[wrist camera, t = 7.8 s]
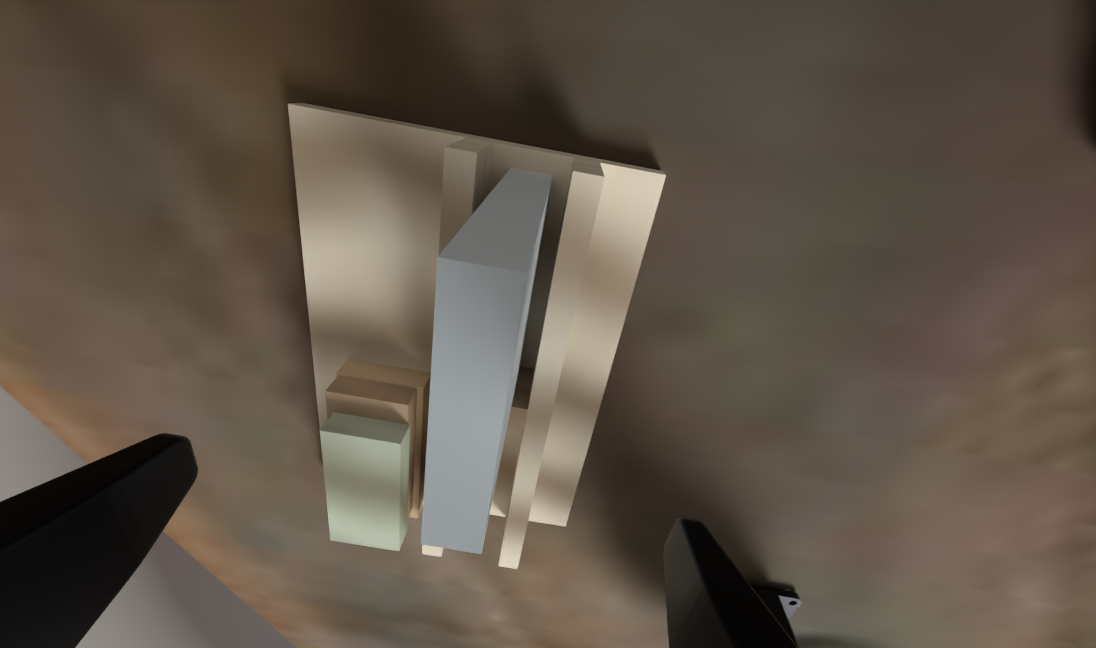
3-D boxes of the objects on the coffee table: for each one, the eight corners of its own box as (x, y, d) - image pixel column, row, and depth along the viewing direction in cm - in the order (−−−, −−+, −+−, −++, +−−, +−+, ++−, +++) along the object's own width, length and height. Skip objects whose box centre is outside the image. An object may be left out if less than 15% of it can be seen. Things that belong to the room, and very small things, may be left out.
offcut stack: (424, 500, 25) (402, 559, 22) (354, 489, 25) (323, 546, 22) (431, 373, 21) (405, 422, 18) (348, 358, 21) (307, 406, 18)
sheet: (522, 353, 20) (481, 554, 12) (487, 347, 20) (421, 544, 12) (552, 175, 17) (527, 273, 8) (510, 167, 17) (437, 257, 8)
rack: (565, 512, 27) (564, 576, 23) (334, 474, 26) (296, 533, 23) (661, 170, 17) (683, 191, 14) (302, 103, 17) (230, 106, 13)
